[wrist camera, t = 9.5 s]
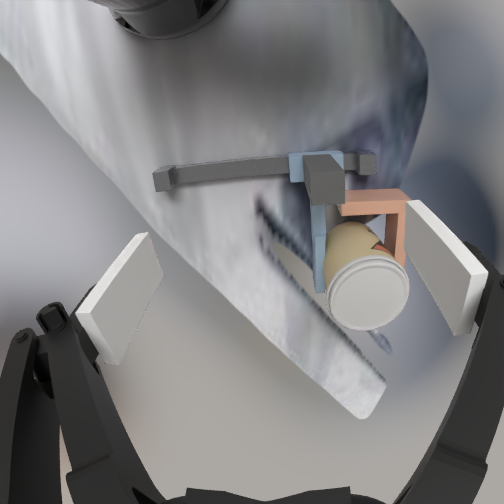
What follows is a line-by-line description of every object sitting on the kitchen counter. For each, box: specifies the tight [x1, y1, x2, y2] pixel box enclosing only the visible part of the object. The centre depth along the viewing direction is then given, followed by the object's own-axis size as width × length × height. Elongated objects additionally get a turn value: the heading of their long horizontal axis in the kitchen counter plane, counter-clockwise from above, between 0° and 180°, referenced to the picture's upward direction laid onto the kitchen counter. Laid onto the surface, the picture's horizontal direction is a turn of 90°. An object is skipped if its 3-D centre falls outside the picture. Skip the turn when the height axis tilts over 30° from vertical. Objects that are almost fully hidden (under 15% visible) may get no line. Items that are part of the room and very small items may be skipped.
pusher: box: [288, 150, 345, 293], centre depth 35 cm, size 18×6×11 cm, turn 6°
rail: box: [152, 150, 376, 192], centre depth 36 cm, size 2×26×3 cm, turn 96°
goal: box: [336, 189, 411, 268], centre depth 39 cm, size 16×9×4 cm, turn 6°
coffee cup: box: [324, 221, 410, 331], centre depth 36 cm, size 9×9×12 cm
